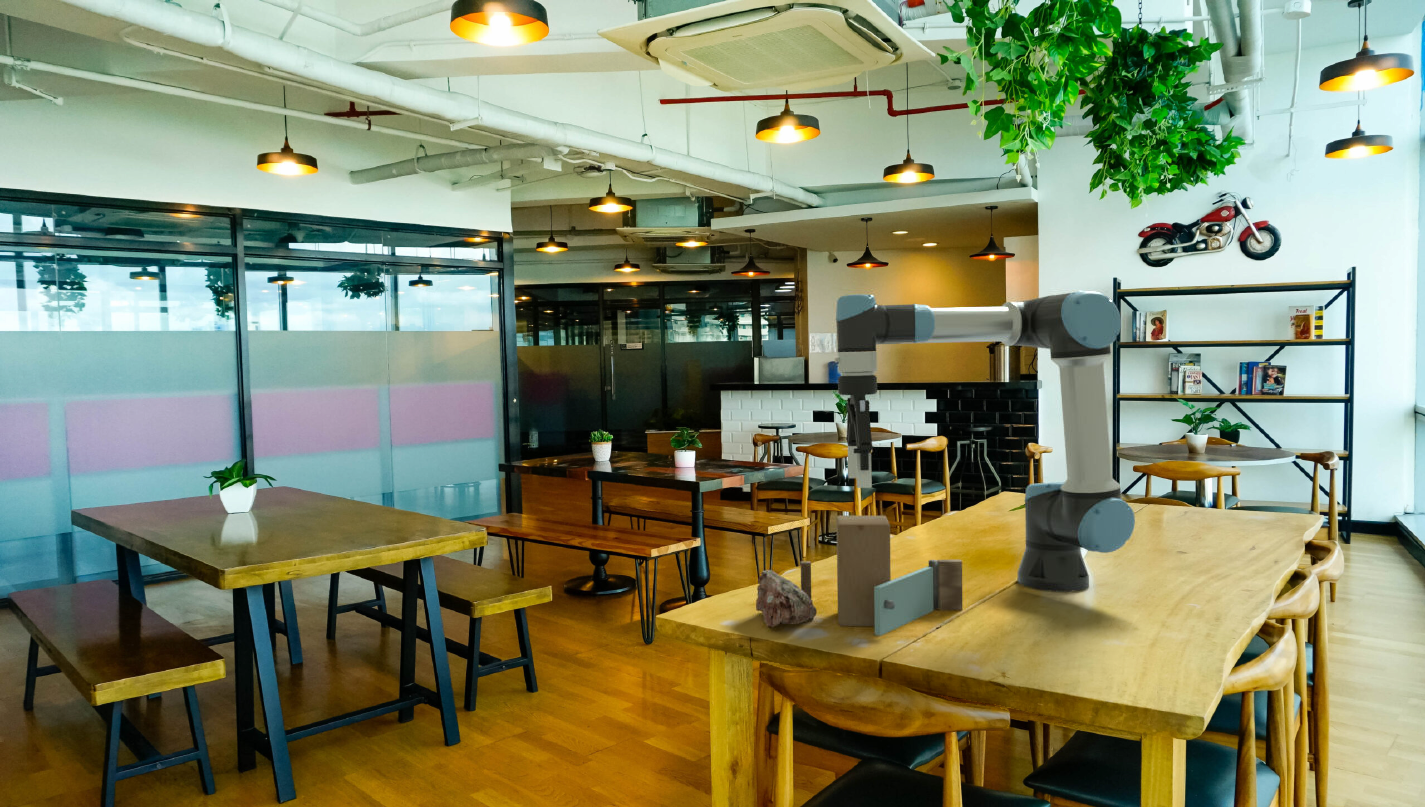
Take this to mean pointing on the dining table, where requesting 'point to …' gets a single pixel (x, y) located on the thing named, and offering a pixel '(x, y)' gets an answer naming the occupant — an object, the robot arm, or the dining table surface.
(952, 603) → the doorframe
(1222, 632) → the dining table surface
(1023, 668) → the dining table surface
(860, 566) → the wooden block
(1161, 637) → the dining table surface
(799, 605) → the rock
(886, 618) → the door
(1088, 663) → the dining table surface
